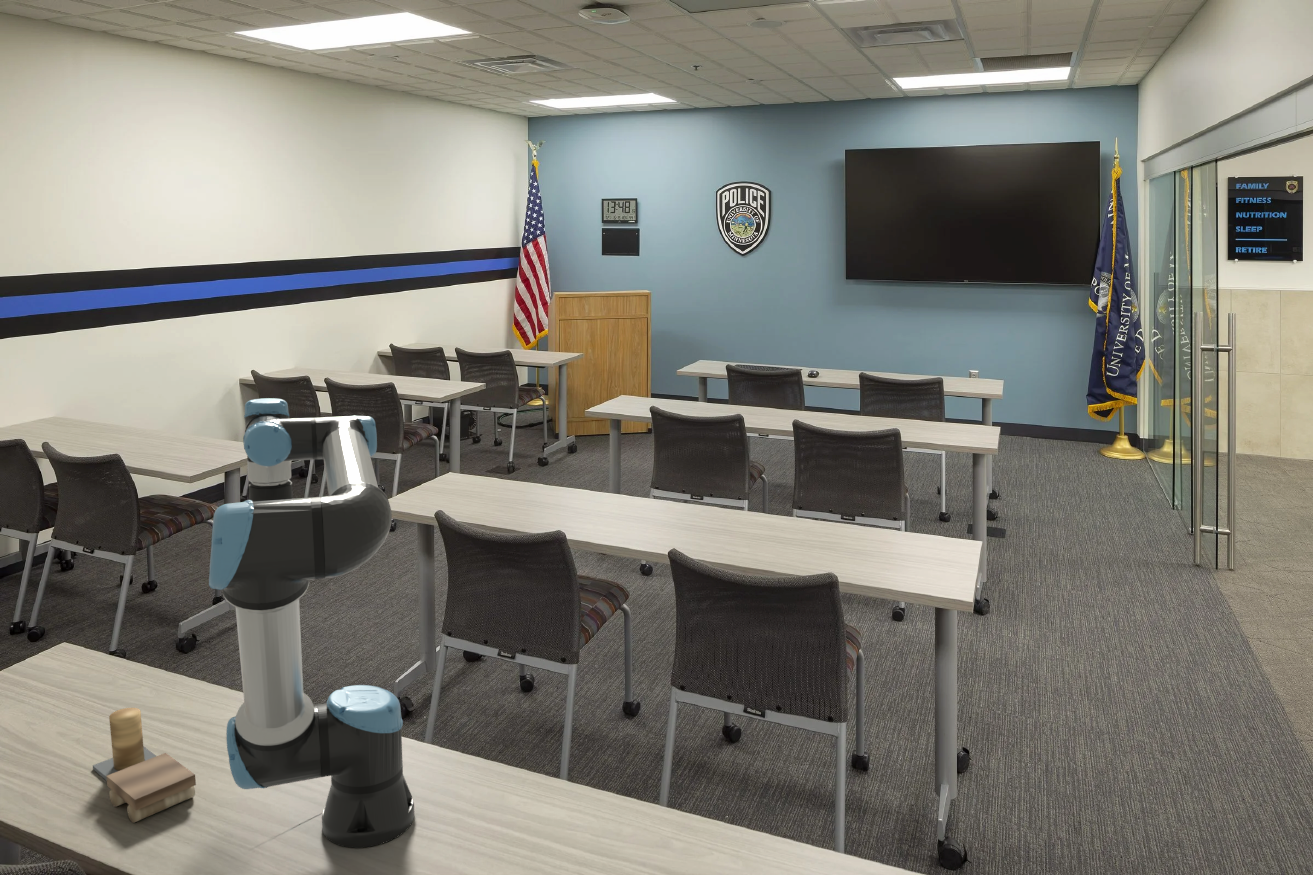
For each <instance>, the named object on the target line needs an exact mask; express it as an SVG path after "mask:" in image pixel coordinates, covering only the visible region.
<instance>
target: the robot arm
mask: <svg viewBox="0 0 1313 875" xmlns="http://www.w3.org/2000/svg"><path fill="white" fill-rule="evenodd" d="M288 405H289V404H288V402H287V401H286V400H285V399H282V398H276V397H275V398H274V397H273V398H269V397H268V398H267V397H266V398H254V399H250V400H248V401H247V402H245V404H244V416H243V419H244V424H245V425H244V427H245V428H244V434H243V438H242V439H243V442H242V443H243V448H244V451H245V454H246V456H247V460H246V464H247V475H248V476H247V479H248V481H249V482H250V483H249V484H248V494H249V499H247V500H244V501H242V502H241V501H240V502H239V501H238V502H233V503H232V502H230V503H229V502H228V503H225V504H222V505H220V506H218V507H217V508H216V510H215V511H214V513H213V519H212V520H213V521H212V530H211V532H212V533H211V548H210V557H209V561H210V562H209V575H208V586H209V587H210V589H213V590H219V591H220V590H221V593H222V597H223V598H224V600H226V602H227V603H228V604H230V605H231V606H232V607H235V616H236V625H237V626H236V628H237V630H236V631H237V639H238V649H239V650H238V651H239V659H240V670H241V671H240V672H241V683H242V694H243V702H242V704H241V705H240V707H239V708H238V709H237V712H236V715H235V716H233V717H230V718H229V720H228V721H227V724H226V737H225V738H226V739H225V740H226V749H227V750H226V751H227V755H228V764H229V768H230V772H231V776H232V779H233V781H234V783H235V785H237V787H238V788H240V789H243V790H252V789H267V788H269V787H274V786H281V785H285V784H287V785H288V784H291V783H292V784H293V783H297V782H303V781H309V780H314V779H319V778H325V777H330V780H331V781H330V788H329V791H328V795H327V797H326V798H327V799H326V801H325V806H324V807H323V810H322V813H321V814H322V815H321V826H322V827H321V828H322V833H323V835H324V837H325V838H326V839H327V840H328V841H329V842H332V843H333V844H335V845H337V846H341V847H345V848H368V847H374V845H375V846H378V844H379V845H382V844H384V843H383V842H385V843H387V842H386V841H388V842H390V841H392V840H394V839H396V838H398V837H399V836H401V835H402V834H403V832H404V831H405V830H406V829H407V828H408V827H409V826H411V825H412V824H413V822H414V819H415V802H414V799H413V798H414V797H413V794H412V793H411V790H410V788H409V786H408V783H407V781H406V778H405V776H404V773H403V772H404V770H403V769H404V768H403V767H404V765H403V763H404V762H403V742H402V739H403V738H402V728H403V725H404V724H403V723H404V721H403V719H402V712H401V711H402V710H401V704H400V700H399V698H398V697H397V696H396V695H395V694H394V693H393V692H391V691H390V690H387V689H386V688H385V689H384V688H382V687H380V686H377V685H368V684H356V685H348V686H343V687H341V688H340V689H336V690H334V691H333V692H331V693H330V695H329V696H328V698H327V700H326V702H325V703H320V704H317V703H316V704H314V703H313V701H312V699H311V698H310V696H308V695H307V694H306V693H305V692H304V683H303V682H304V680H303V679H304V678H303V676H304V675H303V657H302V638H301V636H302V635H301V617H300V615H301V614H300V599H301V598H302V597H303V596H304V595H305V594H306V592H307V591H308V588H309V586H310V581H312V580H321V579H330V578H331V579H333V578H337V577H340V576H343V575H346V574H348V573H351V572H353V571H355V570H357V569H359V568H360V567H361V566H363V565H364V564H366V563H367V562H369V560H371V558H373V557H374V556H375V555H376V554H377V552H378V551H379V550H380V548H381V547H382V546H383V544H384V543H385V541H386V539H387V537H388V535H389V533H390V529H391V525H392V520H393V518H392V517H393V516H392V515H393V514H392V507H391V504H390V501H389V499H388V496H387V495H386V492H384V491H383V490H382V489H381V488H380V487H379V486H378V482H377V478H376V473H375V469H374V466H373V461H372V459H371V457H372V456H374V455H376V452H377V448H378V441H377V440H378V439H377V438H378V435H377V427H376V421H375V419H374V418H373V417H372V416H369V415H367V416H366V415H355V414H354V415H344V416H342V415H341V416H325V417H324V416H322V417H320V416H319V417H293V418H290V413H289V406H288ZM313 460H323V464H324V471H325V473H324V474H325V478H326V486H327V493H328V495H325V496H316V497H313V496H311V497H302V498H301V497H299V498H293V496H294V495H293V482H292V481H291V478H292V461H313ZM412 821H413V822H412ZM411 823H412V824H411ZM410 824H411V825H410ZM409 828H410V827H409ZM409 828H408V829H409ZM408 829H407V830H408ZM407 830H406V831H407ZM406 831H405V832H406ZM405 832H404V833H405ZM401 833H402V834H401ZM400 834H401V835H400ZM398 835H399V836H398ZM397 836H398V837H397ZM395 837H396V838H395ZM393 838H394V839H393ZM391 839H392V840H391ZM389 840H390V841H389ZM381 843H382V844H381Z"/></svg>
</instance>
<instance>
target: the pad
mask: <svg viewBox="0 0 1313 875" xmlns="http://www.w3.org/2000/svg"><path fill="white" fill-rule="evenodd" d="M156 756H157V755H156V754H154V752H152V751H151V750H149V749H148V748H146V747H145V746H144V758H145V761H146V760H148V759H151V758H153V757H156ZM92 770H93V771H94V772H96V773H97V774H98V775H99V776H100V777H101V778H102V779H103V780H105V781H106V782H107V777H106V776H107V775H110V774H112V773H115V772H118V771H117V770H115V769H114V764H113V757H111V758H108V759H105V760H103V761H101V762H97V763H95V764H93V765H92Z"/></svg>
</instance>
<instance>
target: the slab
mask: <svg viewBox="0 0 1313 875" xmlns="http://www.w3.org/2000/svg"><path fill="white" fill-rule="evenodd" d="M106 777H107V781H106V786H107V787H108V788H109V789H110V790H109V794H108V795H109V800H110V803H111V804H112V806H113V807H115V808H117V807H118V806H121V805H124V804H127V808H126V810H127V811H126V812H127V816H128V818H129V820H130V821H131V823H133V824H134V823H136V822H139V821H141V820H144V819H146V818H148V817H151V816H153V815H154V814H157V813H159V812H161V811H162V812H163V811H164V810H167V809H169V808H171V807H173V806H175V805H178V804H180V803H183V802H184V801H187V800H189V799H192V798H193V797H195V795H196V790H195V789H196V788H195V786H196V785H197V782H196V774H195V773H194V772H192V771H191V770H189V768H187V767H186V766H184V765H183V764H182V763H180V762H179V761H178V760H176V758H173V757H172V756H171V755H169V754H168V753H167V752H163V753H161V754H159V755H156V757H153V758H151V759H148V760H146V761H143V762H141V763H138V764H135V765H133V766H130V767H128V768H125V769H123V770H120V771H118V772H115V773H112V774H110V775H107V776H106Z"/></svg>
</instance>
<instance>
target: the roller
mask: <svg viewBox="0 0 1313 875" xmlns="http://www.w3.org/2000/svg"><path fill="white" fill-rule="evenodd" d="M108 717H109V719H108V720H109V729H110V742H111V750H112V751H111V752H112V758H113V764H114V769H115V770H117V771H120V770H123V769H125V768H128V767H130V766H133V765H135V764H138V763H141V762H143V761H145V758H144V747H145V746H144V739H143V738H144V737H143V725H142V712H141V709H139V708H138V707H125V708H121V709H118V710H115V711H114V712H112V713H110V715H108Z"/></svg>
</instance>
